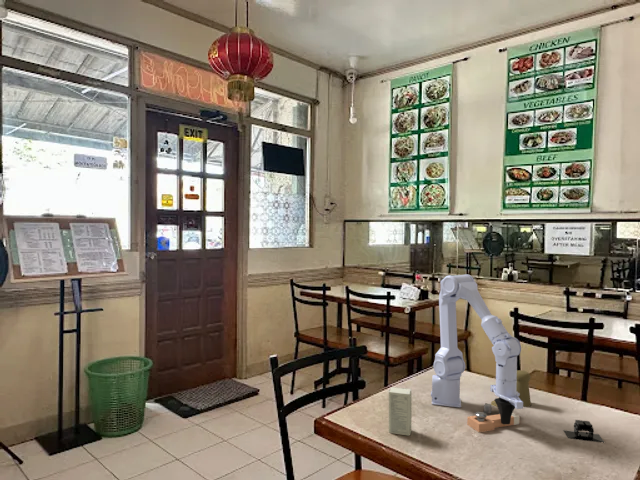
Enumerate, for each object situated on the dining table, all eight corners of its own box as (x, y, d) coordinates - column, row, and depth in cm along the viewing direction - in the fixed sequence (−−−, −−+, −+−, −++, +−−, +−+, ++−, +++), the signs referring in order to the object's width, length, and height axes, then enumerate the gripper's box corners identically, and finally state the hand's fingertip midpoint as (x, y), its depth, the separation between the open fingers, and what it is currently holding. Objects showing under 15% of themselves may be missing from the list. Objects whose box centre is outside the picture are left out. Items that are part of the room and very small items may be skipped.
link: (478, 432, 129) (479, 424, 129) (467, 424, 134) (467, 416, 134) (522, 425, 134) (522, 417, 134) (509, 418, 139) (509, 410, 139)
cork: (527, 400, 155) (528, 368, 154) (533, 407, 149) (534, 374, 148) (509, 399, 155) (509, 368, 155) (514, 406, 149) (515, 373, 149)
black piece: (562, 440, 126) (563, 425, 126) (556, 429, 133) (556, 414, 133) (612, 446, 123) (613, 430, 123) (603, 435, 130) (603, 419, 130)
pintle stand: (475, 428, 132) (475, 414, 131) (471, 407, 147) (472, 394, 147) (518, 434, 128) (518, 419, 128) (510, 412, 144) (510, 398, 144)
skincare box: (411, 430, 130) (412, 389, 130) (409, 436, 126) (410, 394, 126) (390, 426, 132) (391, 386, 132) (387, 433, 128) (388, 391, 128)
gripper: (533, 386, 126) (532, 433, 126) (505, 370, 140) (504, 413, 141) (510, 387, 125) (509, 434, 125) (484, 371, 140) (483, 414, 140)
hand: (505, 423), depth 133 cm, fingers closed, pressing on link
